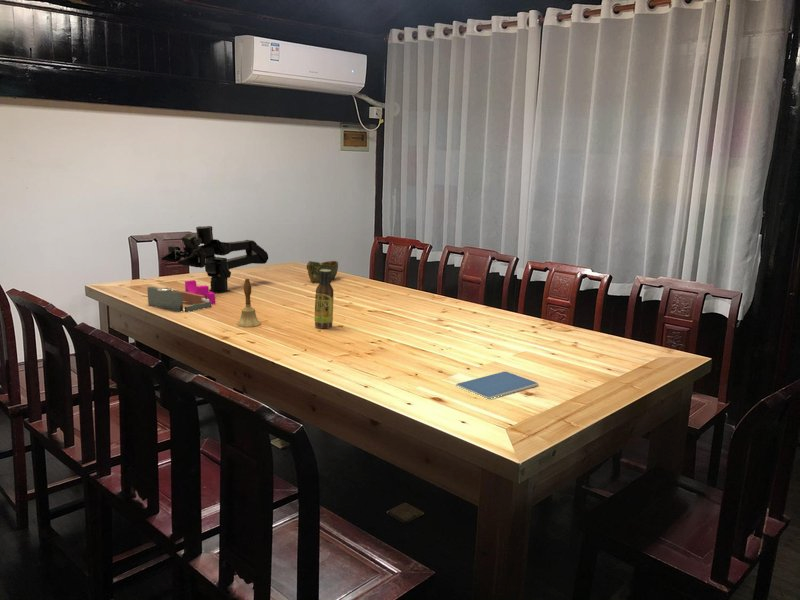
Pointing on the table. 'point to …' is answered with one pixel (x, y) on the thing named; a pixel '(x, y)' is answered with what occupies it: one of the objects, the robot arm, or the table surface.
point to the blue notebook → (497, 384)
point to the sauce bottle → (324, 300)
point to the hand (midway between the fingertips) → (169, 260)
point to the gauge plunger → (193, 297)
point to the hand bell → (248, 309)
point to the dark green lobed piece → (316, 267)
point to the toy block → (199, 290)
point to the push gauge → (171, 300)
